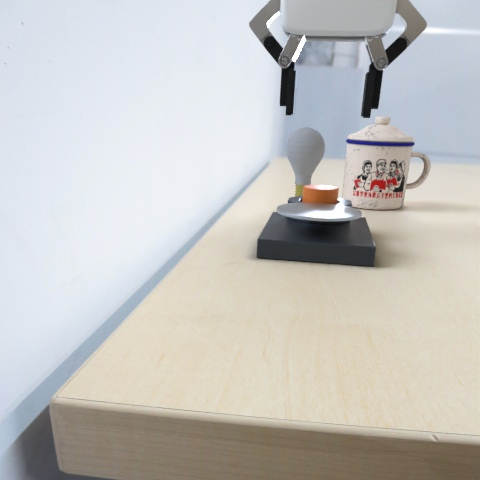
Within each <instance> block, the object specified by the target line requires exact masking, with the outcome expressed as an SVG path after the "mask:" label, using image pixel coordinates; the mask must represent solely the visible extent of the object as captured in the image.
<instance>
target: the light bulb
mask: <svg viewBox="0 0 480 480" xmlns="http://www.w3.org/2000/svg"><path fill="white" fill-rule="evenodd" d="M325 152H326V143H325V139H324V137H323V134H322V133H321V132H320V131H319V130H317V129H315V128H312V127H310V126H304V127H300V128H297V129H296V130H294V131H293V132H291V134H290V135H289V136H288V138H287V141H286V145H285V153H286V157H287V160H288V162H289V165H290V166H291V168H292V171H293V173H294V184H295V187H294V189H295V191H294V197H296V196H303V186H305V185H312V176H313V174H314V173H315V171H316V169H317V168H318V166H319V164H320V163H321V161H322V160H323V158H324V156H325Z"/></svg>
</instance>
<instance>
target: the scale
mask: <svg viewBox="0 0 480 480" xmlns="http://www.w3.org/2000/svg"><path fill="white" fill-rule="evenodd" d="M302 198H303V196H296V197H295V196H291V197H288V199H287V204H288V203H300V202H302ZM337 205H344V206H349V207H352V202H351V201H349V200H346V199H343V198H342V197H338V201H337ZM352 208H353V207H352ZM376 251H377V246H376V243H375V241H374V238H373V234H372V232H371V229H370V227H369V224H368V221H367V218H366V217H365V216H363V217H362V216H361V217H360V218H358V219H355V220H350V221H337V222H326V221H310V220H301V219H295V218H290V217H286V216H283V215H281V214H279V213H278V212H277V211H272V213H271V214H270V216H269V218H268V219H267V221H266V224H265V226H264V227H263V228H262V231H261V232H260V234H259V235H258V237H257V240H256V258H257V259H267V260H279V261H280V260H281V261H292V262H293V261H295V262H307V263H308V262H309V263H322V264H334V265H348V266H363V267H374V265H375V260H376V259H375V258H376Z"/></svg>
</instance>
